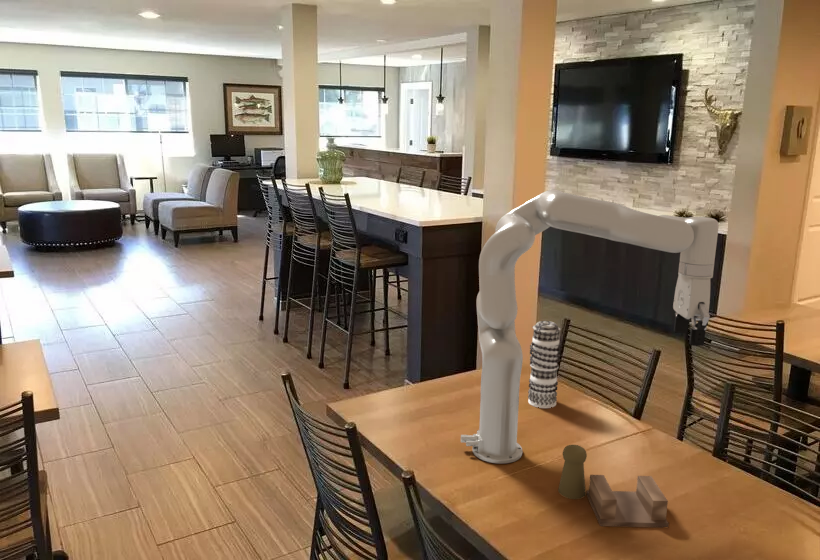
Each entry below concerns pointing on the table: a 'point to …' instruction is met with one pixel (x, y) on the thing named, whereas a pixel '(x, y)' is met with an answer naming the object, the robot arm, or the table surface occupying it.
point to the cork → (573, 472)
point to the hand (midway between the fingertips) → (688, 338)
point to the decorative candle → (544, 365)
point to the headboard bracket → (628, 503)
